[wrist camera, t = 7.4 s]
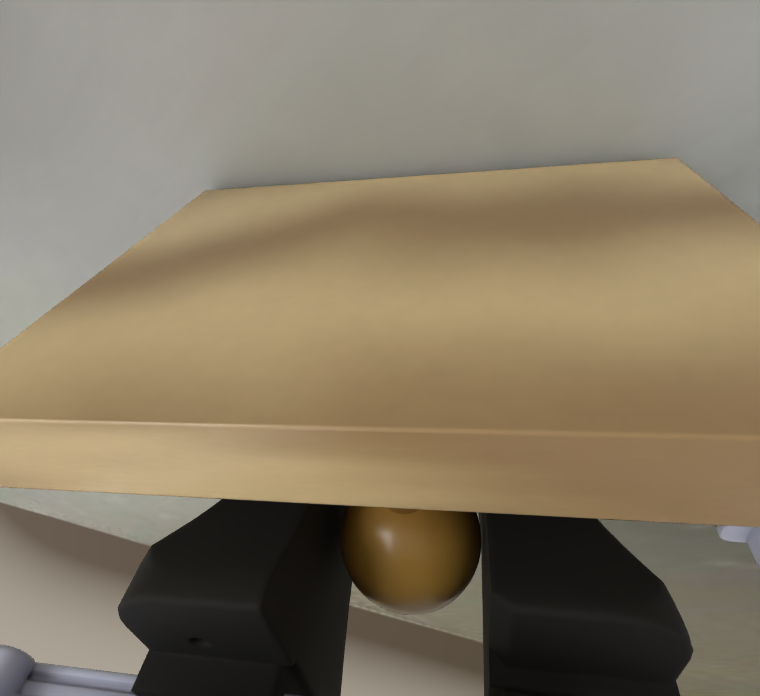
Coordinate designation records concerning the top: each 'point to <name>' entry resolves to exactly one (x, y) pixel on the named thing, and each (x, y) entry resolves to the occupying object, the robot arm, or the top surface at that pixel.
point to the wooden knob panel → (414, 361)
